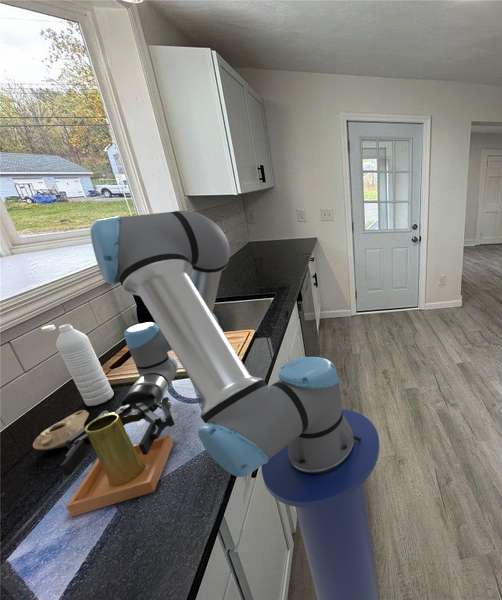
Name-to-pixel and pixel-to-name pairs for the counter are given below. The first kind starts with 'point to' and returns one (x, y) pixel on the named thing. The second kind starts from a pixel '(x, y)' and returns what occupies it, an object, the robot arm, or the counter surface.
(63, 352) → the water bottle
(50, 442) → the pottery oil lamp
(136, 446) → the wooden tray
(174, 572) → the counter surface
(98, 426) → the vase
